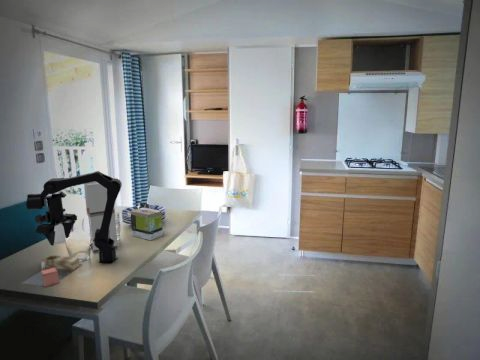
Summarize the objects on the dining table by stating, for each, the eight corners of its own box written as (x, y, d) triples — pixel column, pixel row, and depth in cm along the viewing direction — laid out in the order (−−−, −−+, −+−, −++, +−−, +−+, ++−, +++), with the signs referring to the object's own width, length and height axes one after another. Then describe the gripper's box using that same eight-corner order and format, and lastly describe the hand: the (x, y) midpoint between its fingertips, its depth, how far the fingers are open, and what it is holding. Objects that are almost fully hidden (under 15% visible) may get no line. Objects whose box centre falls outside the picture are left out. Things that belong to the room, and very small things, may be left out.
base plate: (83, 265, 155) (83, 264, 155) (51, 287, 136) (51, 286, 136) (55, 263, 158) (55, 262, 158) (21, 284, 139) (21, 283, 138)
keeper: (58, 284, 139) (57, 271, 138) (45, 288, 136) (43, 274, 135) (56, 280, 142) (54, 267, 141) (42, 283, 139) (41, 270, 138)
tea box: (163, 235, 193) (162, 210, 190) (150, 241, 185) (148, 214, 182) (144, 230, 201) (143, 206, 198) (131, 235, 193) (129, 210, 190)
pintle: (47, 271, 149) (46, 261, 148) (44, 272, 147) (43, 262, 146) (44, 270, 149) (42, 261, 148) (41, 272, 148) (40, 262, 147)
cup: (62, 243, 181) (59, 214, 178) (49, 242, 183) (45, 214, 180) (73, 238, 189) (70, 210, 186) (60, 237, 191) (56, 209, 187)
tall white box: (112, 242, 182) (107, 178, 175) (117, 249, 174) (112, 182, 167) (90, 247, 176) (83, 181, 169) (93, 254, 168) (87, 184, 161)
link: (80, 265, 154) (79, 257, 153) (72, 270, 149) (71, 262, 148) (51, 263, 157) (50, 255, 156) (43, 268, 152) (42, 259, 151)
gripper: (55, 201, 160) (59, 233, 163) (22, 213, 142) (27, 248, 145) (75, 202, 157) (79, 234, 161) (45, 214, 140) (50, 250, 143)
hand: (59, 241), depth 152 cm, fingers open, 9 cm apart
